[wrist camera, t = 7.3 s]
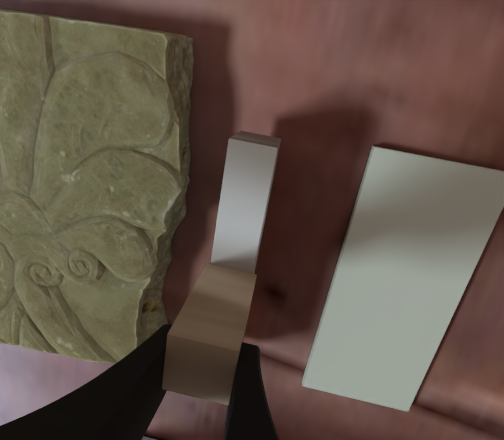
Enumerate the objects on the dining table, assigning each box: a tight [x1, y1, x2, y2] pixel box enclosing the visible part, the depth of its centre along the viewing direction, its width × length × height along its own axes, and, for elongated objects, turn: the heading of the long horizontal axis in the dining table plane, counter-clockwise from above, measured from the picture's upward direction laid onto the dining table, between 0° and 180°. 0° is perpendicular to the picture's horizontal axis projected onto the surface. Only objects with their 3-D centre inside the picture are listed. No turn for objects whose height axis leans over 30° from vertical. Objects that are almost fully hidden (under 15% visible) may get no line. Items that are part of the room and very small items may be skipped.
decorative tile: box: [0, 8, 194, 363], centre depth 20 cm, size 19×20×4 cm
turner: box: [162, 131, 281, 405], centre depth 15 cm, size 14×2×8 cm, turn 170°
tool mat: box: [302, 146, 504, 412], centre depth 20 cm, size 16×7×1 cm, turn 170°
